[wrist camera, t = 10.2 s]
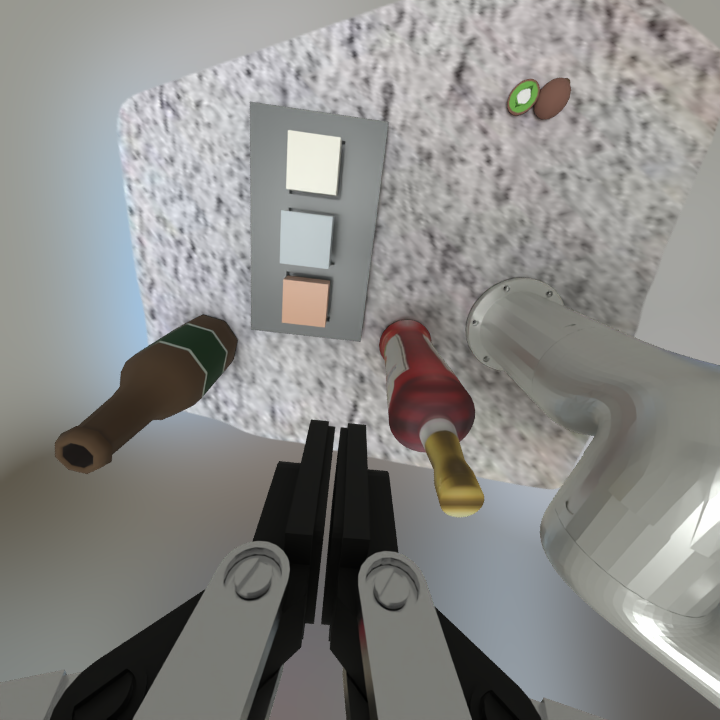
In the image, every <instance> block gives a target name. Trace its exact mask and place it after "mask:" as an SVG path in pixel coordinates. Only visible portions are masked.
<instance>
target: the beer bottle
mask: <svg viewBox="0 0 720 720" xmlns="http://www.w3.org/2000/svg"><path fill="white" fill-rule="evenodd" d="M237 341H238V340H237V338H236V337H235V335H234V334H233V332H232V331H231V329H230V328H229V326H228V325H227V323H226V322H225V321H222V320H219V319H215V318H212V317H209V316H206V315H201V316H199V317H197V318H195V319H193V320H191V321H189V322H187V323H185V324H184V325H182V326H180V327H178V328H176V329H175V330H173V331H171V332H170V333H168V334H167V335H165V336H163V337H162V338H160V339H159V340H157V341H156V342H154V343H152V344H151V345H149V346H148V347H146V348H144V349H143V350H141V351H140V352H138V353H137V354H135V355H134V356H133V357H131V358H130V359H129V360H128V361H126V363H125V365H124V367H123V369H122V371H121V377H120V387H119V389H118V390H117V391H116V392H115V393H114V395H113V396H112V397H111V398H110V399H108V400H107V401H106V402H105V403H104V404H103V405H101V406H100V407H99V408H98V409H97V410H96V411H95V412H93V413H92V414H91V415H90V416H89V417H88V418H87V419H85V420H84V421H83V422H82V423H81V424H80V425H79V426H76V427H74V428H72V429H70V430H68V431H66V432H64V433H62V434H61V435H60V436H59V438H58V439H57V440H56V442H55V457H56V458H57V459H58V460H59V461H60V462H61V463H62V464H63V465H64V466H65V467H66V468H67V469H68V470H73V471H76V472H81V473H85V474H88V473H90V472H92V471H94V470H97V469H99V468H101V467H103V466H105V465H106V464H108V463H110V462H111V461H112V454H113V453H115V452H116V451H117V450H118V449H119V448H121V447H122V446H123V445H124V444H125V443H126V442H128V441H129V440H130V439H131V438H132V437H134V436H135V435H136V434H137V433H138V432H139V431H141V430H142V429H143V428H144V427H145V426H146V425H147V424H149V423H150V422H151V421H152V420H163V419H165V418H168V417H170V416H172V415H175V414H177V413H179V412H181V411H183V410H185V409H187V408H189V407H191V406H193V405H194V404H196V403H197V402H198V401H199V400H200V399H201V398H202V397H203V396H204V395H205V393H206V392H207V391H208V390H209V389H210V387H211V386H212V385H213V384H214V383H215V382H216V380H217V379H218V378H219V377H220V376H221V375H222V373H223V372H224V371H225V370H226V369H227V367H228V366H229V365H230V364H231V362H232V361H233V359H234V355H235V350H236V345H237Z"/></svg>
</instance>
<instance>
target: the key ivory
mask: <svg viewBox="0 0 720 720" xmlns="http://www.w3.org/2000/svg"><path fill="white" fill-rule="evenodd" d="M341 147H342V141H341V137H334V136H327V135H320V134H313V133H306V132H299V131H292V130H288V143H287V175H286V189H288V190H292V191H299V192H307V193H314V194H322V195H329V196H337V194H338V182H339V171H340V159H341Z"/></svg>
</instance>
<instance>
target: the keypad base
mask: <svg viewBox="0 0 720 720" xmlns="http://www.w3.org/2000/svg"><path fill="white" fill-rule="evenodd" d="M388 123H389V122H385V121H379V120H372V119H365V118H358V117H351V116H344V115H337V114H331V113H324V112H317V111H310V110H303V109H296V108H289V107H282V106H276V105H269V104H262V103H255V102H250V191H251V330H260V331H269V332H278V333H287V334H296V335H304V336H313V337H322V338H331V339H340V340H349V341H358V342H360V341H361V333H362V325H363V317H364V310H365V302H366V294H367V286H368V279H369V271H370V263H371V255H372V247H373V240H374V232H375V224H376V216H377V209H378V201H379V193H380V185H381V177H382V170H383V162H384V154H385V146H386V138H387V131H388ZM288 130H292V131H299V132H306V133H313V134H320V135H327V136H334V137H341V141H342V147H341V159H340V171H339V182H338V194H337V196H329V195H322V194H314V193H307V192H299V191H292V190H288V189H286V175H287V143H288ZM281 210H286V211H294V212H302V213H309V214H317V215H325V216H332V217H334V227H333V239H332V251H331V263H330V267H329V269H323V268H315V267H306V266H298V265H290V264H282V263H280V233H281ZM286 276H296V277H304V278H312V279H321V280H329V281H330V288H329V300H328V312H327V322H326V325H325V327H316V326H307V325H299V324H290V323H282V302H283V279H284V278H285V277H286Z"/></svg>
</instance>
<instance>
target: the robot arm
mask: <svg viewBox="0 0 720 720" xmlns="http://www.w3.org/2000/svg"><path fill="white" fill-rule="evenodd" d="M505 286H506V288H505V289H503V288H504V287H505ZM546 293H547V294H546ZM474 320H475V322H474V323H472V322H473V321H474ZM466 337H467V342H468V345H469V348H470V349H471V351H472V353H473V354H474V355H475V357H476V358H477V359H478V360H479V361H480V362H481V363H482V364H484V365H486V366H488V367H489V368H492V369H495V370H498V371H505V372H506V373H507V374H508V375H509V376H510V377H511V378H512V379H513V380H514V381H515V382H516V383H517V384H518V385H519V386H520V388H521V389H522V390H523V391H524V392H525V393H526V394H527V395H528V396H529V397H530V398H531V399H532V400H533V401H534V403H535V404H536V405H537V406H538V407H539V408H540V409H541V410H542V411H543V412H544V413H545V414H546V415H547V416H548V417H549V418H550V419H551V420H553V421H554V422H555V423H557V424H558V425H560V426H562V427H563V428H566V429H568V430H571V431H573V432H576V433H580V434H585V435H591V436H594V438H593V440H592V441H591V443H590V444H589V446H588V447H587V449H586V450H585V452H584V455H583V456H582V458H581V459H580V461H579V462H578V463H577V465H576V466H575V468H574V469H573V471H572V472H571V473H570V475H569V476H568V478H567V479H566V481H565V482H564V484H563V485H562V486H561V488H560V489H559V491H558V492H557V494H556V495H555V497H554V498H553V500H552V501H551V503H550V504H549V506H548V508H547V509H546V511H545V513H544V516H543V518H542V521H541V526H540V538H541V543H542V546H543V549H544V551H545V554H546V556H547V557H548V559H549V561H550V563H551V564H552V566H553V567H554V569H555V570H556V571H557V573H558V574H559V575H560V576H561V578H562V579H563V580H564V581H565V582H566V583H567V585H568V586H569V587H570V588H571V589H572V590H573V591H574V592H575V593H576V594H577V595H578V596H579V597H580V598H582V599H583V600H584V601H585V602H586V603H587V604H588V605H589V606H590V607H592V609H594V610H595V611H596V612H597V613H599V614H600V615H601V616H602V617H603V618H604V619H606V620H607V621H608V622H609V623H611V624H612V625H613V626H615V627H616V628H617V629H618V630H620V631H621V632H622V633H623V634H625V635H626V636H627V637H628V638H630V639H631V640H632V641H634V642H635V643H636V644H637V645H638V646H640V647H641V648H643V649H644V650H645V651H646V652H647V653H649V654H650V655H651V656H653V657H654V658H655V659H656V660H658V661H659V662H660V663H662V664H663V665H664V666H665V667H667V668H668V669H669V670H671V671H672V672H673V673H674V674H676V675H677V676H678V677H680V678H681V679H682V680H683V681H685V682H686V683H687V684H688V685H690V686H691V687H692V688H694V689H695V690H696V691H697V692H699V693H700V694H701V695H702V696H704V697H705V698H706V699H708V700H709V701H710V702H711V703H713V704H714V705H715V706H716V707H718V708H719V709H720V365H716V364H712V363H708V362H704V361H700V360H697V359H693V358H690V357H687V356H684V355H680V354H677V353H674V352H671V351H667V350H665V349H662V348H659V347H657V346H654V345H651V344H649V343H646V342H644V341H641V340H639V339H637V338H634V337H632V336H630V335H628V334H625V333H623V332H621V331H619V330H616V329H614V328H612V327H609V326H607V325H605V324H603V323H600V322H598V321H596V320H594V319H592V318H589V317H587V316H585V315H583V314H580V313H578V312H576V311H574V310H571V309H569V308H567V307H565V306H564V303H563V301H562V299H561V297H560V296H559V294H558V293H557V292H556V290H554V289H553V288H552V287H551V286H549V285H548V284H546V283H544V282H541V281H539V280H536V279H531V278H513V279H510V280H506V281H503V282H501V283H499V284H496V285H495V286H493V287H492V288H490V289H489V290H487V291H486V292H485V293H484V294H483V295H482V296H481V297H480V298H479V299H478V301H477V302H476V303H475V305H474V306H473V308H472V310H471V312H470V314H469V317H468V320H467V326H466ZM485 356H486V357H485ZM484 357H485V358H484ZM328 425H329V421H320V420H311V422H310V426H309V430H308V435H307V439H306V443H305V448H304V453H303V457H302V461H301V463H291V462H282V461H279V463H278V464H277V467H276V470H275V473H274V476H273V480H272V483H271V486H270V489H269V492H268V495H267V498H266V501H265V504H264V508H263V511H262V514H261V517H260V520H259V523H258V526H257V529H256V533H255V535H254V538H253V542H249V543H245V544H243V545H241V546H239V547H237V548H235V549H234V550H233V551H232V552H230V553H229V554H228V555H227V556H226V557H225V558H224V560H223V561H222V562H221V564H220V565H219V567H218V569H217V570H216V572H215V574H214V576H213V577H212V579H211V581H210V583H209V584H208V587H207V588H206V589H205V590H203V591H202V592H200V593H199V594H197V595H196V596H194V597H193V598H191V599H190V600H188V601H187V602H185V603H184V604H182V605H181V606H179V607H178V608H176V609H174V610H173V611H171V612H170V613H168V614H167V615H166V616H164V617H162V618H161V619H159V620H158V621H156V622H155V623H153V624H152V625H150V626H149V627H147V628H146V629H144V630H143V631H141V632H140V633H138V634H136V635H135V636H133V637H132V638H130V639H129V640H127V641H126V642H124V643H123V644H121V645H120V646H118V647H117V648H115V649H114V650H112V651H111V652H109V653H108V654H106V655H104V656H103V657H101V658H100V659H98V660H97V661H96V662H94V663H93V664H92V665H90V666H89V667H88V668H87V669H85V670H84V671H83V672H79V673H75V674H70V675H67V674H66V671H65V670H61V671H55V672H51V673H46V674H40V675H35V676H30V677H25V678H20V679H15V680H10V681H5V682H0V720H269V717H270V714H271V710H272V707H273V703H274V700H275V696H276V693H277V689H278V686H279V682H280V679H281V676H282V672H283V667H284V663H285V662H286V661H287V660H288V659H289V658H290V657H291V656H292V655H293V654H294V653H295V652H297V651H298V649H300V648H301V643H302V639H303V635H304V627H305V623H309V624H314V617H315V609H316V599H317V590H318V581H319V572H320V563H321V554H322V545H323V535H324V526H325V517H326V508H327V498H328V489H329V480H330V470H331V460H332V452H333V442H334V433H335V427H332V426H328ZM321 624H324V625H330V629H329V641H330V650H331V651H332V653H333V654H334V655H335V656H336V658H337V659H338V660H339V662H340V663H341V664H342V666H343V671H342V675H343V687H344V698H345V711H346V720H607V719H604V718H601V717H598V716H595V715H592V714H589V713H587V712H583V711H581V710H578V709H575V708H572V707H569V706H566V705H564V704H561V703H558V702H555V701H552V700H549V699H546V698H543V700H542V701H541V702H538V701H536V700H533V699H530V698H528V696H527V695H526V694H525V693H524V692H523V691H522V689H521V688H520V687H519V686H518V685H517V684H516V683H515V682H514V681H513V680H511V679H510V678H509V677H508V676H507V675H506V674H505V673H504V672H503V671H502V670H501V669H500V668H499V667H498V666H497V665H496V664H495V663H493V661H491V660H490V659H489V658H488V657H487V656H486V655H485V654H484V653H483V652H482V651H481V650H480V649H479V648H478V647H477V646H475V644H474V643H472V642H471V641H470V640H469V639H468V638H467V637H466V636H465V635H464V634H463V633H462V632H461V631H460V630H459V629H458V628H457V627H456V626H455V625H454V624H453V623H451V622H450V621H449V620H448V619H447V618H446V617H445V616H444V615H443V614H442V613H441V612H440V611H439V610H438V609H437V608H436V607H435V606H434V604H433V601H432V598H431V595H430V592H429V588H428V585H427V582H426V580H425V578H424V576H423V574H422V572H421V570H420V569H419V567H418V566H417V565H416V564H415V563H414V562H413V561H412V560H410V559H409V558H408V557H406V556H404V555H402V554H399V553H398V546H397V537H396V529H395V521H394V512H393V504H392V495H391V487H390V479H389V473H388V471H380V470H369V469H368V467H367V439H366V425H361V424H351V423H348V428H343V427H341V430H340V438H339V447H338V456H337V465H336V473H335V481H334V490H333V499H332V509H331V520H330V531H329V542H328V554H327V565H326V576H325V587H324V598H323V610H322V622H321Z"/></svg>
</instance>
